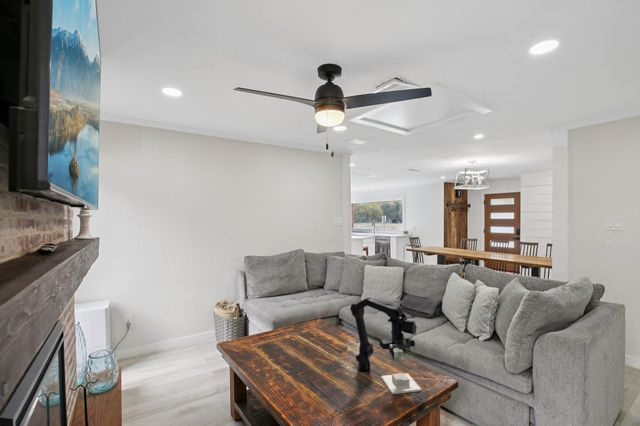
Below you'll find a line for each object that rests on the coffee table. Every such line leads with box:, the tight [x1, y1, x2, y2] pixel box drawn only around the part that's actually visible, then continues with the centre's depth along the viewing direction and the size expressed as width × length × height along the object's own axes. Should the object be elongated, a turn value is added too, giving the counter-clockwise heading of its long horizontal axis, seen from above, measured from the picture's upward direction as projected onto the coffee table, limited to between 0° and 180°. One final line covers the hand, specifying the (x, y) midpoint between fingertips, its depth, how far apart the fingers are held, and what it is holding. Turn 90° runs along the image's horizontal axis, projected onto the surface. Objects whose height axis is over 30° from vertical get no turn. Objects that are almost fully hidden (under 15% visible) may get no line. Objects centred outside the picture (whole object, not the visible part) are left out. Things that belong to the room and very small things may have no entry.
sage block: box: [390, 347, 405, 364], centre depth 174 cm, size 5×5×6 cm
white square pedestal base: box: [381, 372, 422, 395], centre depth 171 cm, size 16×16×4 cm
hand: (397, 358), depth 174 cm, fingers closed on sage block, 5 cm apart
